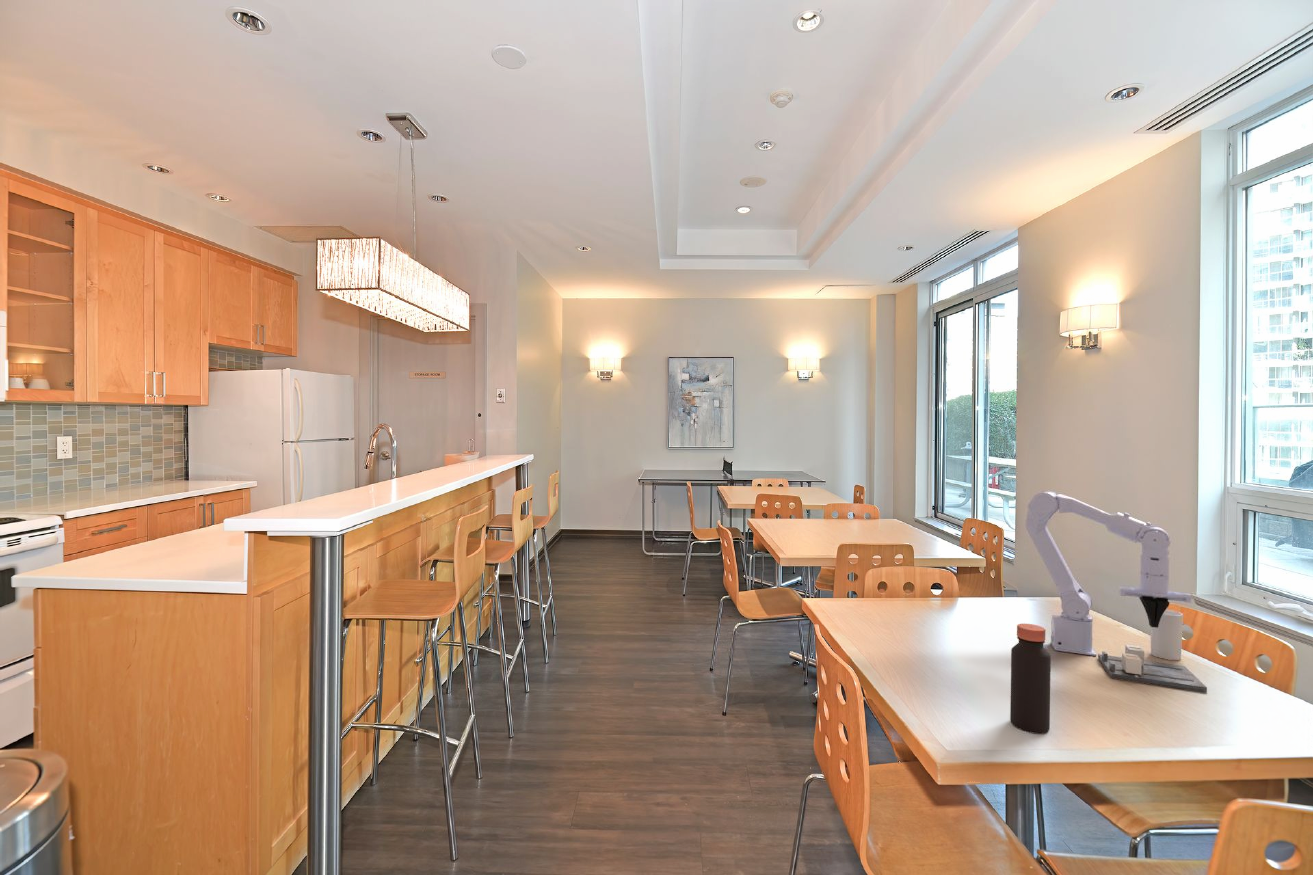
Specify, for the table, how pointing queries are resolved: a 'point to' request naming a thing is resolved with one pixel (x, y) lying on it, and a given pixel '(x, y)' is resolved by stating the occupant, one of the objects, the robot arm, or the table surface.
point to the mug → (1168, 636)
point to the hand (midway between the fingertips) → (1153, 626)
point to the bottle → (1030, 680)
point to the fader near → (1131, 663)
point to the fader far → (1135, 651)
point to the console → (1153, 674)
